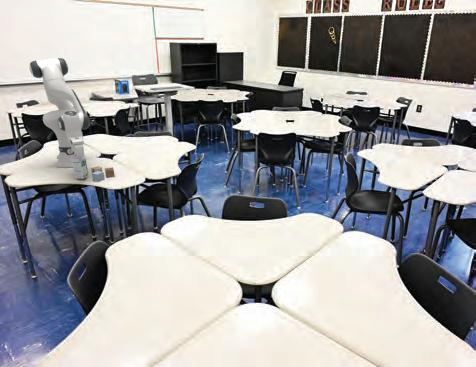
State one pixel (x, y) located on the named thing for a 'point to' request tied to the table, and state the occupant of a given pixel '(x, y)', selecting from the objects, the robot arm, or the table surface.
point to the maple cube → (96, 169)
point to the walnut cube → (109, 172)
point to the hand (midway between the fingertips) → (78, 160)
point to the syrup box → (79, 167)
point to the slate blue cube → (98, 176)
